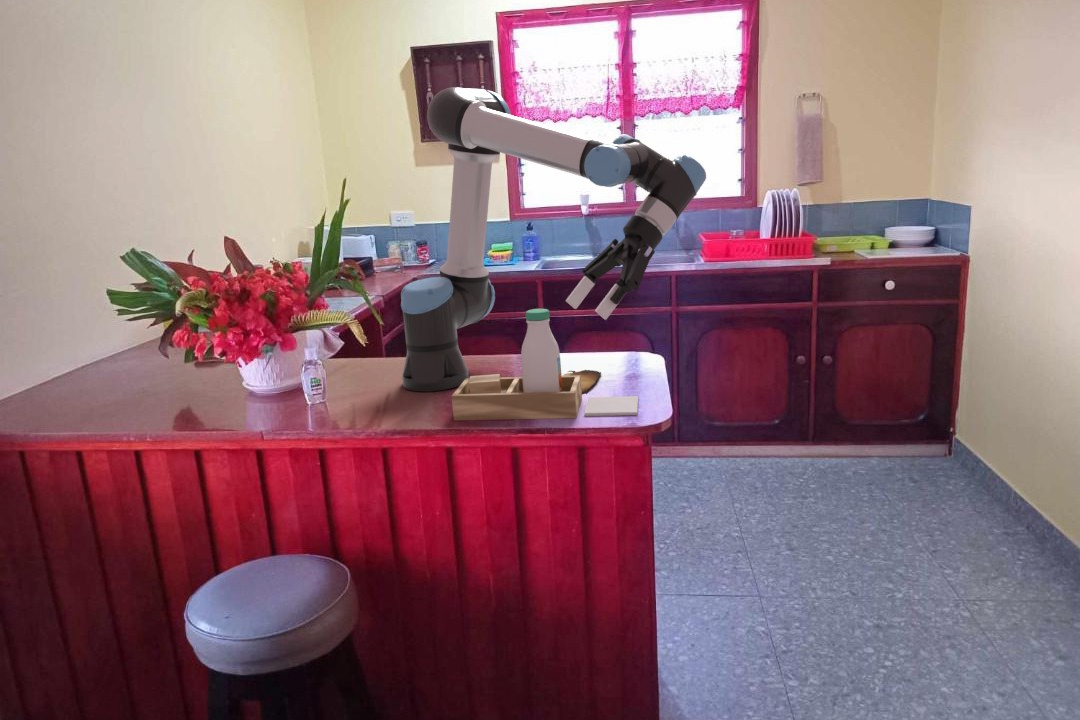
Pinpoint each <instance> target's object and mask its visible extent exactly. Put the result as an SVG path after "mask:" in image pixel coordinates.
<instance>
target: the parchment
mask: <svg viewBox="0 0 1080 720" xmlns="http://www.w3.org/2000/svg"><path fill="white" fill-rule="evenodd" d="M577 375H581V391H582V395H585V394H587V393H588V391H589V389H591V388H592V386H594V385H595V384H596V383H597V382H598V379H599V377H600V376H601V375H602V372H601V371H598V370H592V369H584V370H580V371H579V370H578V371H576V370H568V371H567V373H563V375H562V376H577Z"/></svg>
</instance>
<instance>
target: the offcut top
mask: <svg viewBox="0 0 1080 720" xmlns="http://www.w3.org/2000/svg"><path fill="white" fill-rule="evenodd" d="M500 378H501V374H500V373H493V374H481V375H480V374H479V375H470V376H469V379H470V380H469V389H470V394H491V393H501V383H500Z"/></svg>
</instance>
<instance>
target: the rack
mask: <svg viewBox="0 0 1080 720" xmlns="http://www.w3.org/2000/svg"><path fill="white" fill-rule="evenodd" d="M469 380H470V378H469V379H465V380H464V381H463V383H462V384H461V385H460V386H458V387H457V388H456V390H454V392H453V393H452V395H451V406H452V413H453V414H452V416H453V421H486V420H487V421H489V420H490V421H491V420H493V421H494V420H541V419H543V420H544V419H547V420H548V419H550V420H551V419H577V417H578V414H579V410H580V406H581V403H582V400H583V394H582V391H581V375H577V376H563V375H562V390H563V392H531V393H524V392H523V378H522V376H513V377H510V376H509V377H507V376H506V377H500V383H501V390H507V392H506V393H491V394H470V389H469Z"/></svg>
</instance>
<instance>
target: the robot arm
mask: <svg viewBox="0 0 1080 720" xmlns="http://www.w3.org/2000/svg"><path fill="white" fill-rule="evenodd" d="M426 115H427V116H426V119H427V124H428V127H429V129H430V131H431V133H433V135H434V136H435V137H436V138H437V140H439V141H441V142H443V143H445V144H447V150H448V151H449V153H450V154H451V155H452V156H453V169H452V170H453V171H452V182H451V183H452V184H451V185H452V186H451V199H450V215H449V226H448V227H449V228H448V240H447V241H448V242H447V252H446V253H447V254H446V261H445V262H444V264H441V266H440V267H439V276H434V277H433V276H432V277H426V278H423V279H417V280H414V281H412V282H409V283H408V284H405V286H403V287H402V289H401V292H400V299H401V301H400V307H401V312H402V321H403V329H404V337H405V344H406V345H405V346H406V358H405V362H404V365H403V369H402V370H403V371H402V377H401V378H402V379H401V380H402V385H403V386H402V387H403V388H404V389H406V390H409V391H414V392H437V391H446V390H449V389H453V388H454V389H455V388H459V386H460V385H461V384H462V383H463V381H464V380H465V379H470V376H469V375H470V374H469V368H468V366H467V365H466V364H467V363H466V362H465V359H464V358H463V355H462V352H461V351H460V348H459V342H458V340H459V339H458V331H457V330H458V329H461V328H463V327H466V326H468V325H473V324H475V323H478V322H480V321H481V320H483V319H484V318H486V316H488V315H489V313H490V312H491V311H492V309H493V307H494V305H495V300H496V296H495V295H496V291H495V288H494V285H492V284H491V283H492V282H491V280H490V279H489V274H490V272H489V269H487V267H486V266H485V265H484V261H485V260H484V259H485V258H484V257H485V250H486V249H485V248H486V235H487V222H488V213H489V204H490V203H489V200H490V192H491V191H490V190H491V179H492V166H493V162H494V161H495V160H496V159H497V158H498V157H499V156H500V154H504V155H508V156H511V157H514V158H517V159H522V160H523V161H524V160H525V161H528V162H531V163H535V164H538V165H541V166H545V167H547V168H552V169H555V170H558V171H562V172H565V173H569V174H572V175H576V176H579V177H582V178H585V179H588V180H589V181H590V182H591V183H593V184H594V185H596V186H599V187H606V188H612V187H615V186H618V185H624V184H630V183H633V184H635V185H636V186H638V187H639V188H641V189H643V190H644V191H646V192H647V193H649V194H647V196H645V198H644V200H643V201H642V202H641V203H640V204H639V206H638V208H637V209H636V210H635V213H634V214H635V215H632V216H631V217H630V219H629V220H628V221H627V222H626V224H625V225H624V227H622V232H623V234H624V238H623V239H622V240H621V241H619V240H618V239H617V238H614V239H612V241H611V242H610V243H609V245H607V247H606V248H605V249H604V250H602V251H601V252H600V253H599V254H598V255H597V256H596V257H595V258H594V259H592V260H591V261H589V263H588V264H587V265H586V266H585V267H584V268H583V269H582V270H581V273H582V274H583V277H582V279H581V280H580V281H579V282H578V283H577V285H576V286H575V288H574V289H573V290H572V291H571V293H570V294H569V295H568V296H567V298H566V299H565V302H566V303H567V304H569V306H571V307H572V308H573V309H574V310H577V309H578V307H579V306H580V305H581V303H582V302H583V301H584V299H585V298H586V297H587V296H588V294H589V293H590V292H591V290H592V289H593V288H594V287H595V285H596V284H597V280H599V279H600V278H602V277H603V276H604V275H606V274H608V273H609V272H610V271H611V270H613V269H615V268H616V267H617V268H618V267H621V266H622V267H621V271H620V276H619V278H618V279H617V280H615V282H616V283H614V285H613V286H612V287H611V288H610V290H609V291H608V292H607V294H606V295H605V297H603V299H602V301H600V303H599V304H598V305H597V307H596V308H595V310H594V312H595V313H597V315H598V316H600V317H601V318H602V319H604V320H605V321H607V319H608V318H609V317H610V315H611V314H612V313H613V311H614V310H615V308H616V307H617V306H618V305H619V303H620V302H621V301H622V299H623V298H624V296H625V295H626V294H627V293H630V292H631V291H633V292H635V291H637V290H638V289H639V287H640V284H641V282H642V280H643V277H644V274H645V273H646V269H648V268H647V267H648V265H649V263H650V261H651V259H652V257H653V256H654V254H655V249H656V248H657V247H658V246H659V244H660V243H661V241H662V240H663V236H665V235H666V234H667V233H668V231H670V230H671V229H672V228H673V225H674V223H675V222H676V221H677V220H678V218H680V216H681V214H682V213H683V212H684V210H685V209H686V208H687V206H688V205H689V204H690V203H691V202H692V200H693V199H694V198H695V197H697V193H698V192H699V190H700V189H701V187H702V186H703V184H704V183H705V181H706V179H707V172H706V169H705V168H704V167H703V166H702V165H701V163H700V162H699V161H697V160H696V159H695V158H693V157H691V156H687V155H686V154H680V155H677V157H676V158H674V159H672V160H671V159H669V158H667V157H666V156H664V155H662V154H660V153H659V152H657V151H655V150H654V149H652V148H650V146H647V145H646V144H644V143H642V141H640V140H639V139H637V138H634V137H633V136H630V135H629V134H626V133H625V134H624V133H623V134H620V135H619V136H618V137H616V138H615V139H614V140H613V142H608V141H605V140H602V139H601V140H600V139H597V138H593V137H590V136H586V135H583V134H580V133H577V132H572V131H569V130H565V129H563V128H557V127H554V126H550V125H547V124H543V123H540V122H536V121H532V120H529V119H525V118H522V117H518V116H514V115H512V114H511V109H510V108H509V105H508V103H507V102H506V101H505V99H504V98H503V97H502V95H500V94H498V93H496V91H495V92H494V91H492V90H488V89H483V88H467V87H466V88H464V87H456V86H453V87H447V88H445V89H442V90H440V91H439V92H437V93H436V94H435V95H434V96H433V97H432V98H431V100H430V102H429V104H428V108H427V113H426Z"/></svg>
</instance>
